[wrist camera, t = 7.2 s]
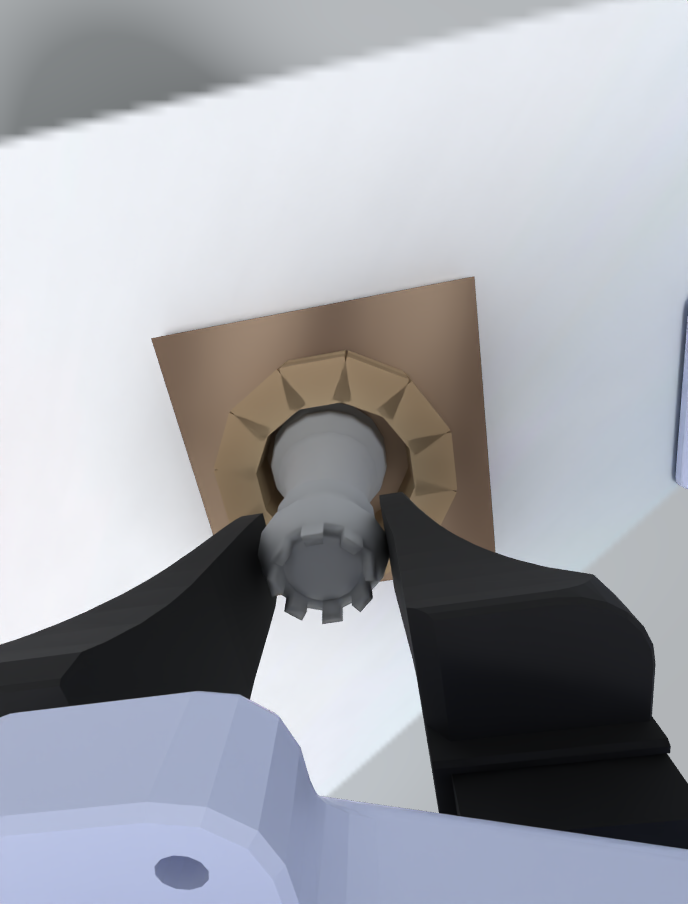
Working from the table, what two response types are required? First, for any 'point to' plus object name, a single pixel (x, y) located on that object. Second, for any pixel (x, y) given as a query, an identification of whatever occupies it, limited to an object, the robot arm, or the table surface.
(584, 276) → the table surface
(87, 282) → the table surface
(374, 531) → the rook chess piece
